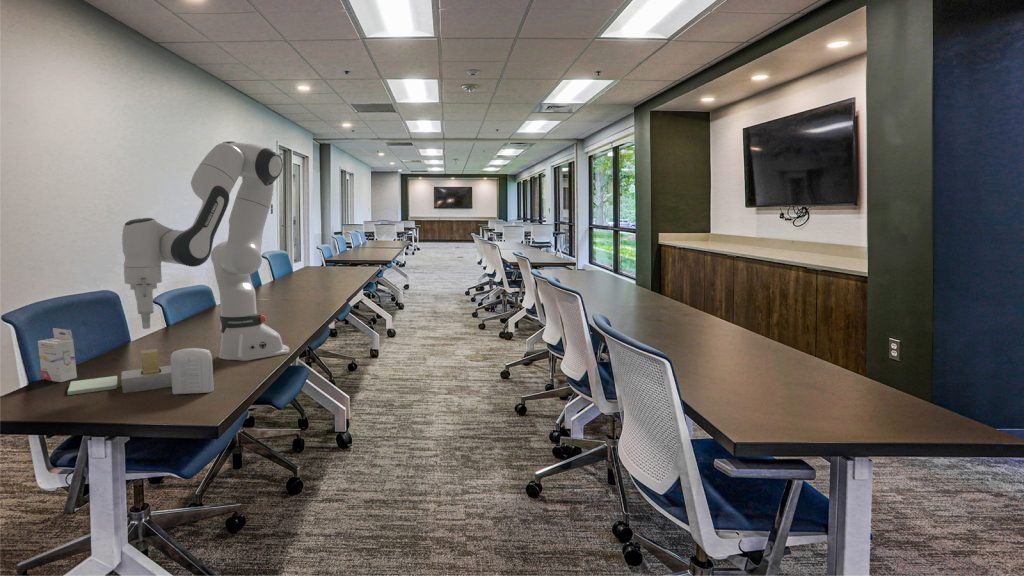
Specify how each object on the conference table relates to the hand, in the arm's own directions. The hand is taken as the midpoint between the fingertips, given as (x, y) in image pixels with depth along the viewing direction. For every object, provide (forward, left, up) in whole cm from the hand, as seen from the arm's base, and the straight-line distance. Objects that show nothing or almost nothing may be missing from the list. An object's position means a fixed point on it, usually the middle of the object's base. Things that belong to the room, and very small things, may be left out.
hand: (146, 325), depth 166 cm
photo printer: (-10, +14, -18) cm, 24 cm away
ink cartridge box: (+23, -22, -18) cm, 36 cm away
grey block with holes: (-2, 0, -17) cm, 17 cm away
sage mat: (+14, -7, -17) cm, 23 cm away
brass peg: (0, 0, -17) cm, 17 cm away
